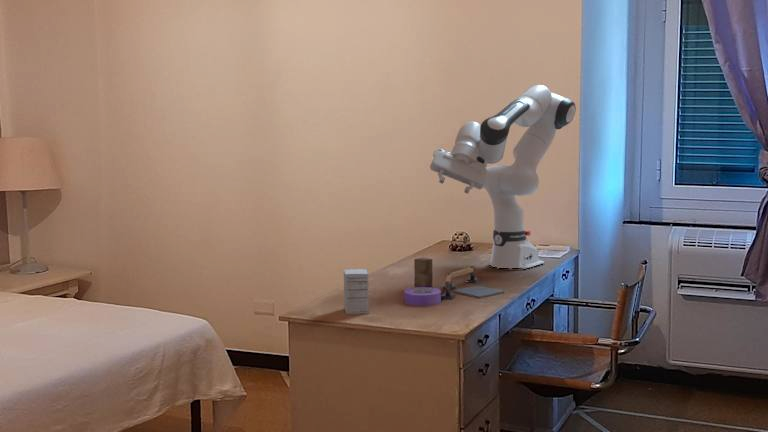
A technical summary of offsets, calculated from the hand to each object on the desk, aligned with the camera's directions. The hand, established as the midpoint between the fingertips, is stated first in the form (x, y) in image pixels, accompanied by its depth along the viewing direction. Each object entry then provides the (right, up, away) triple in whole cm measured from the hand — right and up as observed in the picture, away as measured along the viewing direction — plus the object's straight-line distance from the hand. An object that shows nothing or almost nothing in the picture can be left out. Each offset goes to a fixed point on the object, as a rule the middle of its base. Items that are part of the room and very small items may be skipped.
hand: (453, 187), depth 313 cm
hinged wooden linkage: (0, -35, -2) cm, 35 cm away
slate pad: (+8, -36, -8) cm, 38 cm away
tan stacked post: (-10, -35, +1) cm, 36 cm away
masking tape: (-12, -38, -21) cm, 45 cm away
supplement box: (-33, -40, -33) cm, 61 cm away
